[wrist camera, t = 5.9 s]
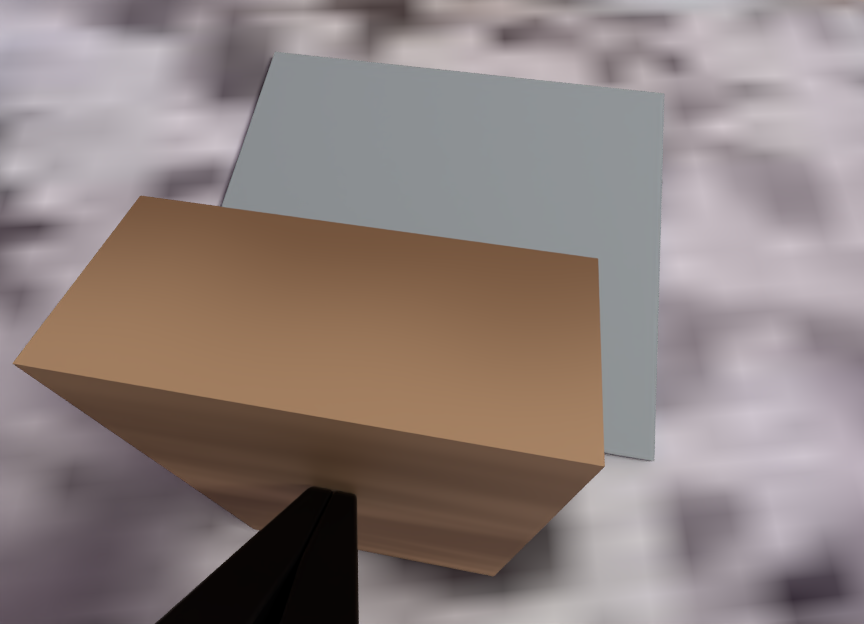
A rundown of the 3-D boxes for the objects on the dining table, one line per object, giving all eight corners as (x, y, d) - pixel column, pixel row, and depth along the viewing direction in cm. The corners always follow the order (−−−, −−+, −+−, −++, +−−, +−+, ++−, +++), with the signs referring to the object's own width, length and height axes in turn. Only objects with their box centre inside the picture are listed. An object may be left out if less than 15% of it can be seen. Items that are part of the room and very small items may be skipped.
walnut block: (493, 576, 13) (603, 466, 5) (254, 529, 14) (12, 363, 6) (503, 469, 15) (598, 257, 7) (289, 431, 16) (140, 195, 7)
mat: (650, 461, 15) (654, 460, 15) (167, 378, 16) (162, 376, 16) (660, 99, 19) (664, 93, 19) (277, 57, 21) (274, 51, 20)
